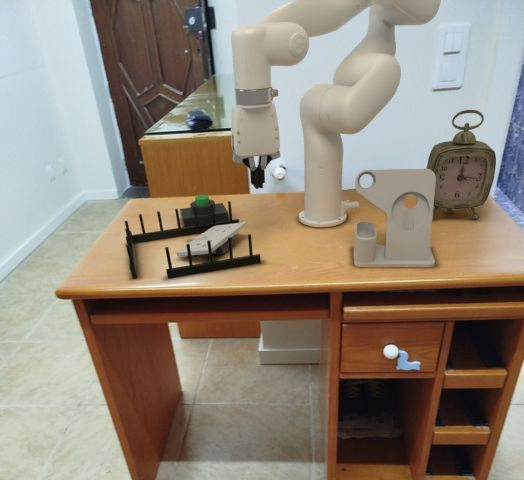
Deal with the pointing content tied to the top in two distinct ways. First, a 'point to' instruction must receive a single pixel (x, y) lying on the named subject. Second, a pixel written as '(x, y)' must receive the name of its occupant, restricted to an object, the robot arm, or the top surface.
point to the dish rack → (184, 231)
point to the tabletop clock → (462, 170)
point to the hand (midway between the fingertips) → (258, 186)
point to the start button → (202, 200)
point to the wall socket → (212, 240)
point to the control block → (203, 214)
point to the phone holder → (397, 219)
